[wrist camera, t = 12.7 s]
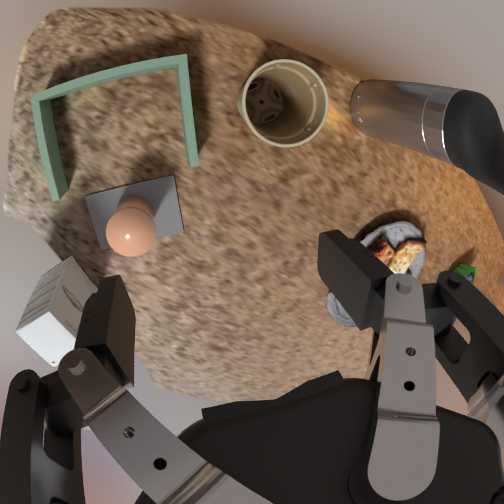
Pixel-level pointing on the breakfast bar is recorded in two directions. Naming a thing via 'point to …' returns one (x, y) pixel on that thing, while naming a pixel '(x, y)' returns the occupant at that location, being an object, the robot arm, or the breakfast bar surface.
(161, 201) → the slate mat
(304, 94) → the flower pot
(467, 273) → the fruit basket
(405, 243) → the food plate
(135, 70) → the green u-shaped frame
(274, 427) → the robot arm
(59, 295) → the supplement box
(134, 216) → the tan round knob
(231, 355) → the breakfast bar surface
